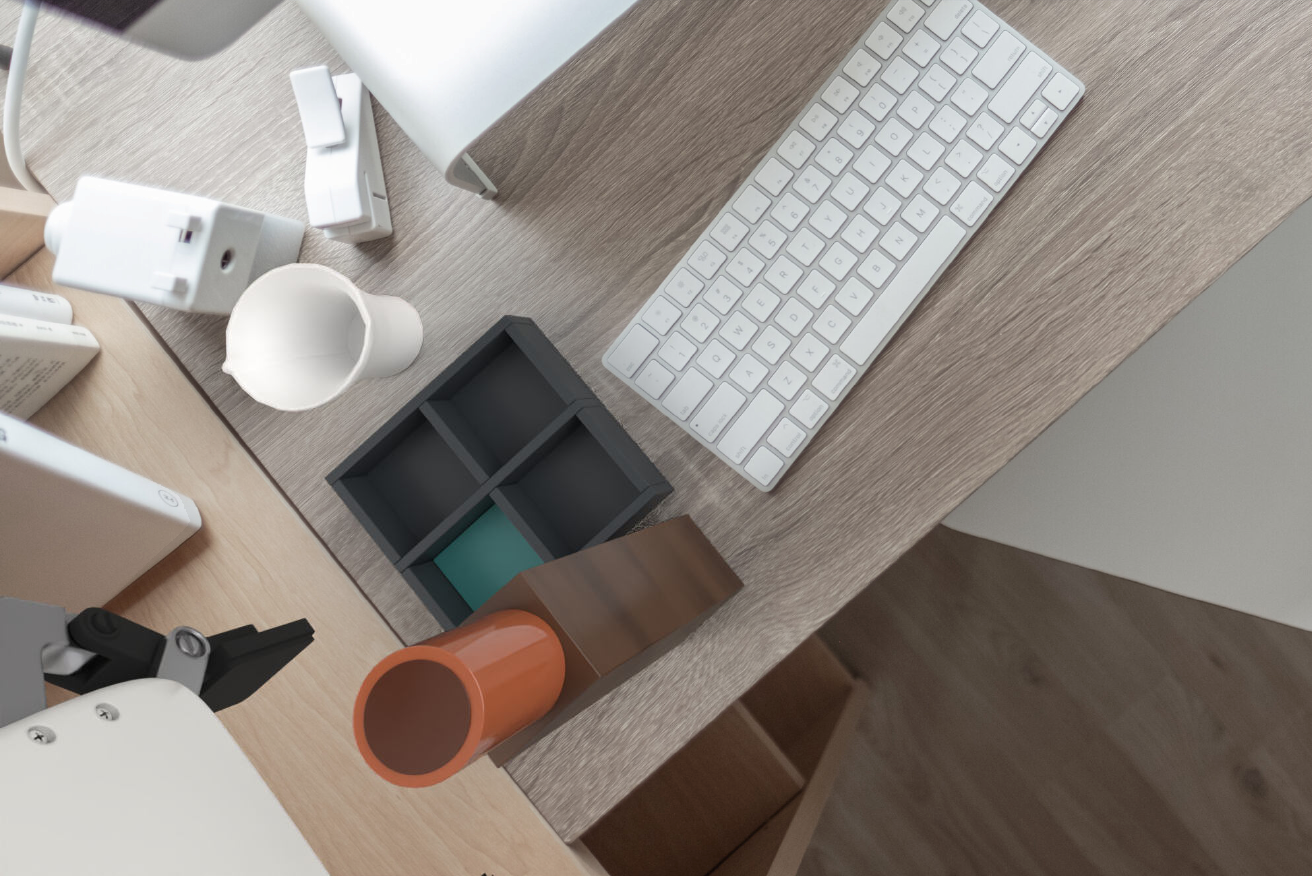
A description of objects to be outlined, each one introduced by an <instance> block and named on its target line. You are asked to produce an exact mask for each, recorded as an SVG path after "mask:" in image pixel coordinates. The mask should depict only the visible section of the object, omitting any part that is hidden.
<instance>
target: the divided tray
mask: <svg viewBox="0 0 1312 876" xmlns="http://www.w3.org/2000/svg"><path fill="white" fill-rule="evenodd" d="M534 321H535V320H533V319H532V318H531V317H527V316H519V315H512V314H504V315H503V316H502V317H501V318H500V319H498V321H497V322H495V324H493V325H492V326H491V327H490V328H489V329H488V330H487V331H485V332H484V333H483V334H482V335H481V336H480V337H479V338H478V339H476V340H475V342H473V343H472V344H471V345H470V346H468V347H467V349H466V350H464V351H463V352H462V353H461V354H460V355H459V356H458V357H457V358H455V359H454V360H453V361H452V362H451V363H450V364H449V365H448V366H447V367H445V368H444V370H442V371H441V372H440V373H439V374H438V375H437V376H436V377H435V378H433V379H432V380H431V381H430V382H429V383H428V384H426V385H425V386H424V387H423V388H422V389H421V390H420V391H419V392H418V393H417V394H415V396H413V397H412V398H411V399H410V400H409V401H408V402H407V403H405V405H403V406H402V407H401V408H400V409H399V410H398V411H397V412H396V413H395V414H394V415H392V416H391V417H390V418H389V419H388V420H387V421H385V423H384V424H382V425H381V426H380V427H379V428H378V429H377V430H376V431H375V432H373V433H372V434H371V435H370V436H369V437H367V439H366V440H365V441H363V442H362V443H361V444H360V445H359V446H358V447H357V448H356V449H354V450H353V451H352V452H351V453H350V454H349V455H347V457H346V458H345V459H343V461H341V462H340V463H339V464H338V465H337V466H336V467H335V468H333V470H331V471H330V472H329V473H328V474H327V475H326V476H325V477H324V480H325V481H326V483H328V485H329V486H331V489H332V490H333V491H334V492H335V494H336V495H337V496H338V497H339V499H340V500H341V501H342V502H343V504H344V505H345V506H346V508H347V509H348V510H349V511H350V513H351V514H352V516H353V517H354V518H355V519H356V520H357V522H358V523H359V524H360V525H361V527H362V528H363V530H364V531H365V532H366V534H368V535H369V537H370V538H371V539H372V541H373V542H374V543H375V544H376V546H377V547H378V548H379V550H380V551H381V552H382V553H383V555H384V556H385V557H386V558H387V560H388V561H389V562H390V564H391V565H392V566H393V567H394V568H395V571H397V572H398V574H400V576H401V577H402V579H403V581H405V583H407V585H408V586H409V588H410V589H411V590H412V591H413V593H414V594H415V595H416V597H417V598H418V599H419V600H420V601H421V603H422V604H423V605H424V607H425V608H426V610H427V611H428V612H429V613H430V614H431V616H432V617H433V618H434V619H435V621H436V622H437V624H438V625H440V627H441V628H442V629H443V632H445V631H447V630H450V629H452V628H455V627H457V626H459V625H460V624H461V623H462V622H463V621H464V620H466V619H467V618H468V617H469V616H470V615H471V614H472V613H474V612H475V611H476V610H477V609H478V608H479V607H480V606H482V605H483V604H484V603H485V602H486V601H487V600H488V599H490V598H491V597H492V596H493V595H494V594H495V593H496V592H498V591H499V590H500V589H501V588H502V587H503V586H504V585H506V584H507V583H508V582H509V581H510V580H511V579H512V578H513V577H515V576H516V575H517V574H518V573H519V572H521V571H524V570H527V569H530V568H533V567H536V566H539V565H542V564H544V563H547V562H550V561H553V560H556V559H559V558H562V557H565V556H567V555H570V554H573V553H576V552H579V551H582V550H585V549H588V548H590V547H593V546H596V545H599V544H602V543H605V542H608V541H611V540H613V539H616V538H619V537H622V536H625V535H628V534H629V532H631V530H633V529H634V528H635V527H636V526H637V525H639V523H640V522H641V521H643V520H644V519H645V518H646V517H647V516H648V515H649V514H650V513H651V512H652V511H654V509H656V508H657V507H659V506H658V505H660V504H661V503H662V502H663V501H665V499H666V498H667V497H668V496H670V495H671V494H672V493H673V492H674V491H675V487H674V486H673V485H672V484H671V483H670V481H669V480H668V479H667V477H666V476H664V475H663V473H662V472H661V470H659V468H658V467H657V466H656V465H655V463H654V462H653V461H652V460H651V459H650V458H649V456H648V455H647V454H646V453H645V452H644V450H642V448H641V447H640V446H639V445H638V443H637V442H636V441H635V440H634V439H633V437H631V435H630V434H629V433H628V431H626V429H625V428H624V427H623V425H622V424H621V423H620V422H619V421H618V419H616V417H615V416H614V415H613V414H612V412H611V411H610V410H609V409H608V408H607V407H606V406H605V404H604V403H603V402H602V401H601V400H600V398H599V397H598V396H597V395H596V394H595V392H593V390H592V388H590V387H589V385H588V384H587V383H586V382H585V381H584V379H583V378H582V377H581V376H580V375H579V373H578V372H577V371H576V370H575V368H574V367H573V366H572V365H571V364H570V363H569V361H567V359H566V358H565V357H564V356H563V355H562V353H561V352H560V351H559V349H558V348H557V347H556V346H555V345H554V344H553V342H552V341H551V340H550V339H549V338H548V336H546V334H545V333H544V332H543V331H542V330H541V328H540V327H539V326H538V325H537V324H536V322H534Z"/></svg>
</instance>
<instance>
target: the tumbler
mask: <svg viewBox="0 0 1312 876" xmlns="http://www.w3.org/2000/svg"><path fill="white" fill-rule="evenodd" d="M564 678H565V657H564V652H563V649H562V645H561V643H560V641H559V639H558V637H557V635H556V634H555V632H554V631H553V630H552V628H551V627H550V626H549V625H548V624H547V623H546V622H545V621H544V620H542V619H541V618H539V617H538V616H536V615H534V614H532V613H529V612H526V611H523V610H517V609H505V610H499V611H495V612H492V613H490V614H487V615H485V616H482V617H480V618H477V619H475V620H472V621H470V622H467V623H465V624H462V625H460V626H457V627H455V628H452V629H450V630H447V631H442V632H440V633H438V634H435V635H433V636H430V637H428V638H425V639H422V640H420V641H417V642H415V643H412V644H410V645H407V646H405V647H403V648H400V649H398V650H395V651H393V652H391V653H390V654H388V655H386V656H385V657H384V658H382V659H380V660H379V661H378V662H377V663H376V664H375V665H374V666H373V667H372V669H371V670H369V672H368V673H367V675H366V676H365V678H364V680H363V681H362V683H361V685H360V687H359V689H358V690H357V694H356V695H355V696H356V697H355V699H354V703H353V709H352V718H351V719H352V720H351V721H352V734H353V738H354V742H355V746H356V747H357V748H356V749H357V751H358V752H359V755H360V756H361V758H362V760H363V761H364V763H365V764H366V765H367V766H368V768H369V769H370V770H371V771H372V772H373V773H374V774H375V775H377V776H378V777H379V778H380V779H382V780H384V781H385V782H387V783H389V784H392V785H394V786H398V787H401V788H407V789H423V788H429V787H432V786H435V785H438V784H441V783H443V782H446V781H447V780H449V779H450V778H452V777H454V776H455V775H457V774H458V773H460V772H461V771H463V770H465V769H466V768H467V767H469V766H470V765H473V764H474V763H475V762H477V761H478V760H480V759H481V758H483V757H484V756H486V755H487V754H488V753H489V752H491V751H492V750H494V749H495V748H497V747H498V746H500V745H502V744H503V743H505V742H506V741H508V740H509V739H511V738H512V737H514V736H515V735H517V734H519V733H520V732H522V731H523V730H525V729H526V728H528V727H529V726H531V725H533V724H534V723H536V722H537V721H538V720H540V719H541V718H542V717H543V716H544V715H546V714H547V713H548V711H549V710H550V709H551V708H552V707H553V705H554V704H555V702H556V700H557V699H558V697H559V694H560V692H561V689H562V686H563V683H564Z"/></svg>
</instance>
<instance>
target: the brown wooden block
mask: <svg viewBox="0 0 1312 876" xmlns="http://www.w3.org/2000/svg"><path fill="white" fill-rule="evenodd" d="M744 587H745V584H744V582H743V581H742V579H740V577H739V576H738V575H737V573H736V572H735V571H734V570H733V568H732V567H731V566H730V564H728V562H727V561H726V560H725V558H724V557H723V556H722V555H721V554H720V552H719V551H718V550H717V549H716V547H715V546H714V545H713V544H712V542H711V541H710V539H709V538H708V537H707V536H706V535H705V533H704V532H703V531H702V529H700V527H699V526H698V525H697V524H696V522H695V521H694V520H693V519H692V518H691V516H690V515H689V513H686V514H683V515H679V516H677V517H674V518H671V519H668V520H665V521H662V522H660V523H657V524H653V525H651V526H648V527H645V528H642V529H639V530H637V531H634V532H631V533H627V534H626V535H625V536H622V537H619V538H616V539H613V540H611V541H608V542H605V543H602V544H599V545H596V546H593V547H590V548H588V549H585V550H582V551H579V552H576V553H573V554H570V555H567V556H565V557H562V558H559V559H556V560H553V561H550V562H547V563H544V564H542V565H539V566H536V567H533V568H530V569H527V570H524V571H521V572H519V573H518V574H517V575H516V576H515V577H513V578H512V579H511V580H510V581H509V582H508V583H507V584H506V585H504V586H503V587H502V588H501V589H500V590H499V591H498V592H496V593H495V594H494V595H493V596H492V597H491V598H490V599H488V600H487V601H486V602H485V603H484V604H483V605H482V606H480V607H479V608H478V609H477V610H476V611H475V612H474V613H472V614H471V615H470V616H469V617H468V618H467V619H466V620H464V621H463V622H462V623H461V624H460V625H462V624H465V623H467V622H470V621H472V620H475V619H477V618H480V617H482V616H485V615H487V614H490V613H492V612H495V611H499V610H505V609H517V610H523V611H526V612H529V613H532V614H534V615H536V616H538V617H539V618H541V619H542V620H544V621H545V622H546V623H547V624H548V625H549V626H550V627H551V628H552V630H553V631H554V632H555V634H556V635H557V637H558V639H559V641H560V643H561V645H562V649H563V652H564V657H565V678H564V683H563V686H562V689H561V692H560V694H559V697H558V699H557V700H556V702H555V704H554V705H553V707H552V708H551V709H550V710H549V711H548V713H547V714H546V715H544V716H543V717H542V718H541V719H540V720H538V721H537V722H536V723H534V724H533V725H531V726H529V727H528V728H526V729H525V730H523V731H522V732H520V733H519V734H517V735H515V736H514V737H512V738H511V739H509V740H508V741H506V742H505V743H503V744H502V745H500V746H498V747H497V748H495V749H494V750H492V751H491V752H489V753H488V754H486V755H487V757H488V758H489V759H490V761H491V763H493V765H494V766H495V767H496V769H501V768H502V767H503V766H505V765H506V764H508V763H509V762H511V761H512V760H513V759H515V758H516V757H518V756H520V755H521V754H522V753H524V752H525V751H527V750H528V749H530V748H532V746H534V745H536V744H537V743H539V742H540V741H542V740H543V739H544V738H545V737H547V736H549V735H550V734H551V733H552V732H554V731H556V730H557V729H559V728H560V727H561V726H563V725H564V724H566V723H568V722H569V721H570V720H573V718H575V717H577V716H578V715H580V713H582V712H584V711H585V710H586V709H588V708H590V707H591V706H593V705H594V704H595V703H597V702H599V700H601V699H603V698H604V697H606V696H607V695H608V694H610V693H611V692H613V691H614V690H616V689H617V688H618V687H620V686H622V685H623V684H624V683H626V682H627V681H629V680H630V679H632V678H633V677H634V676H636V675H638V674H639V673H641V672H642V671H643V670H645V669H646V668H648V667H649V666H650V665H652V664H654V663H655V662H656V661H658V660H660V659H661V658H662V657H664V656H665V655H667V654H668V653H670V652H671V651H672V650H674V649H676V648H677V647H678V646H679V645H680V644H681V643H682V642H683V641H685V640H686V639H687V638H688V637H689V636H690V635H691V634H692V633H694V632H695V631H696V630H697V629H698V628H699V627H700V626H701V625H703V624H704V622H706V621H707V620H708V619H709V618H711V617H712V616H713V615H714V614H715V613H716V612H718V610H719V609H721V607H723V606H724V605H725V604H727V602H728V601H729V600H731V598H733V597H734V596H735V595H736V594H737V593H739V592H740V590H742V589H743V588H744ZM460 625H459V626H460Z"/></svg>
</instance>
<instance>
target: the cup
mask: <svg viewBox="0 0 1312 876" xmlns="http://www.w3.org/2000/svg"><path fill="white" fill-rule="evenodd" d="M423 342H424V324H423V322H422V320H421V316H420V314H419V312H418V310H417V309H416V308H415V307H414V306H413V305H412V304H411V303H410V302H408V301H406V300H404V299H403V298H401V297H400V296H394V295H389V294H388V295H387V294H375V295H374V294H371V293H369V292H366V291H364V290H362V289H360V288H358V287H357V286H356V284H354V282H353V281H352V280H351V279H350V278H349V277H348V276H346V275H344V274H342V273H341V272H339V271H337V270H336V269H333V268H331V267H330V266H326V265H323V264H320V263H307V262H306V263H303V262H292V263H289V264H286V265H281V266H278V267H275V268H272V269H270V270H269V271H267V272H265V273H264V274H262V275H261V276H259V277H258V278H256V279H255V280H254V281H253V282H251V284H250V285H248V287H247V288H246V289H245V290H244V291H243V293H241V295H240V297H239V298H238V300H237V302H236V304H235V305H234V306H233V309H232V311H231V314H230V316H229V320H228V323H227V326H226V329H225V348H226V350H225V352H226V357H225V361H224V362H223V363H222V366H221V369H222V372H223V373H225V374H227V375H231V376H232V378H233V379H234V380H235V382H236V383H237V385H239V387H240V388H241V389H242V390H243V391H244V392H245V393H247V394H248V395H249V396H250V397H251V398H252V399H254V401H256V402H258V403H260V404H263V405H266V406H267V407H270V408H273V409H275V410H277V411H281V412H293V413H299V412H306V411H311V410H315V409H319V408H322V407H324V406H326V405H328V404H331V403H333V402H334V401H335V400H337V399H338V398H340V397H341V396H342V395H344V394H345V393H347V392H348V391H349V390H350V389H351V388H352V387H353V386H354V384H357V383H358V382H360V381H361V380H366V379H384V378H387V377H392V376H393V377H394V376H397V375H398V374H400V373H402V372H403V371H404V370H406V369H408V368H409V367H411V365H412V364H413V363H414V361H415V360H416V358H417V357H418V355H419V354H420V352H421V349H422V346H423Z"/></svg>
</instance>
